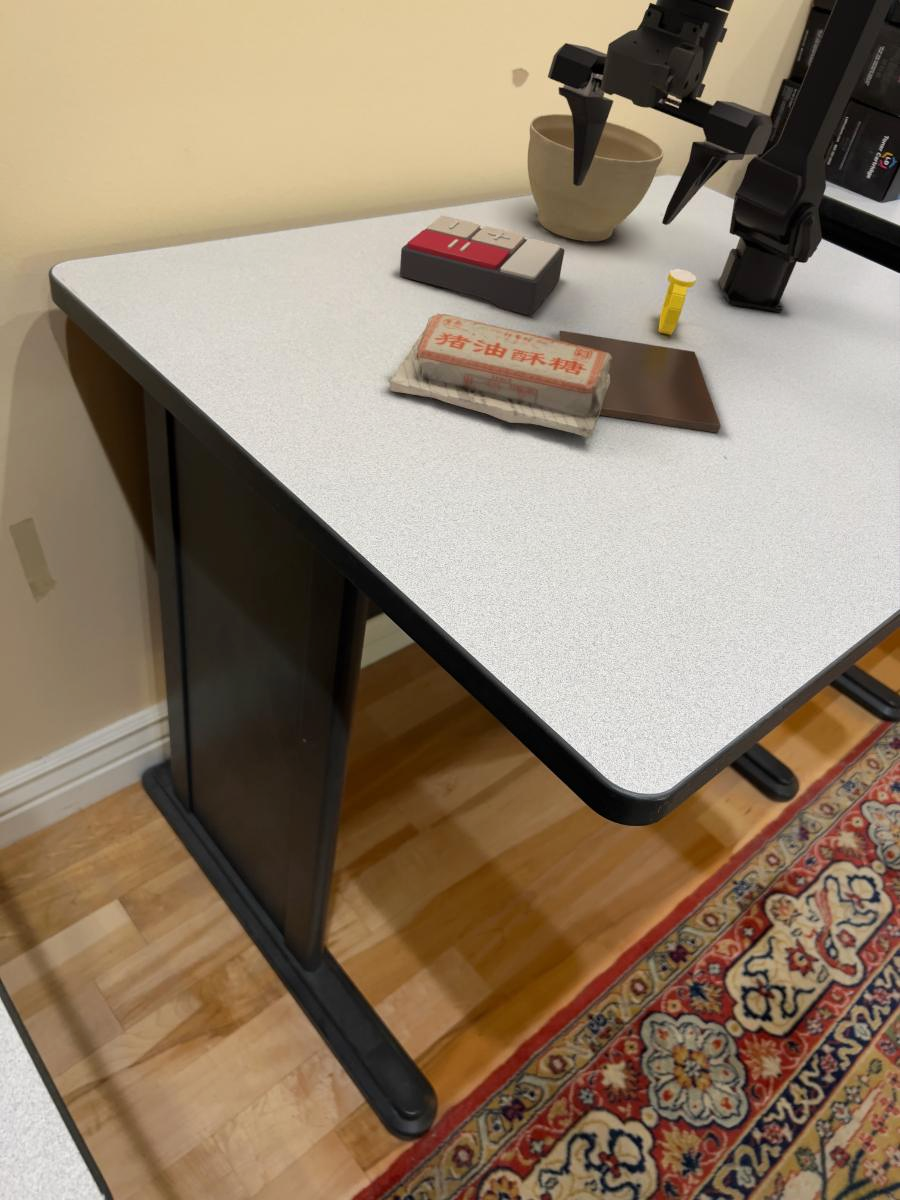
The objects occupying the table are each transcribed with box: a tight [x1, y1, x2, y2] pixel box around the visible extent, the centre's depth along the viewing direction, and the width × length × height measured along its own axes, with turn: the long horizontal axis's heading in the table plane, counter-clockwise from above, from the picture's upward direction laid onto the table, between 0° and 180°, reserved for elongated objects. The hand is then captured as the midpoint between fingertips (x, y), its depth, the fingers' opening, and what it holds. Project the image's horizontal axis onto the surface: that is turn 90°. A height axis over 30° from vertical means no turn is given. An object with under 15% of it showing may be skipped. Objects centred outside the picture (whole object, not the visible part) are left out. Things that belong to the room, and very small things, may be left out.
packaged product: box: [389, 313, 612, 439], centre depth 77 cm, size 18×5×10 cm
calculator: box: [399, 215, 566, 316], centre depth 95 cm, size 11×4×15 cm
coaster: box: [557, 330, 722, 434], centre depth 84 cm, size 14×14×1 cm
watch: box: [658, 268, 697, 336], centre depth 93 cm, size 6×3×6 cm, turn 169°
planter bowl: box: [527, 113, 665, 243], centre depth 109 cm, size 16×16×11 cm
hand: (620, 204), depth 79 cm, fingers open, 9 cm apart
